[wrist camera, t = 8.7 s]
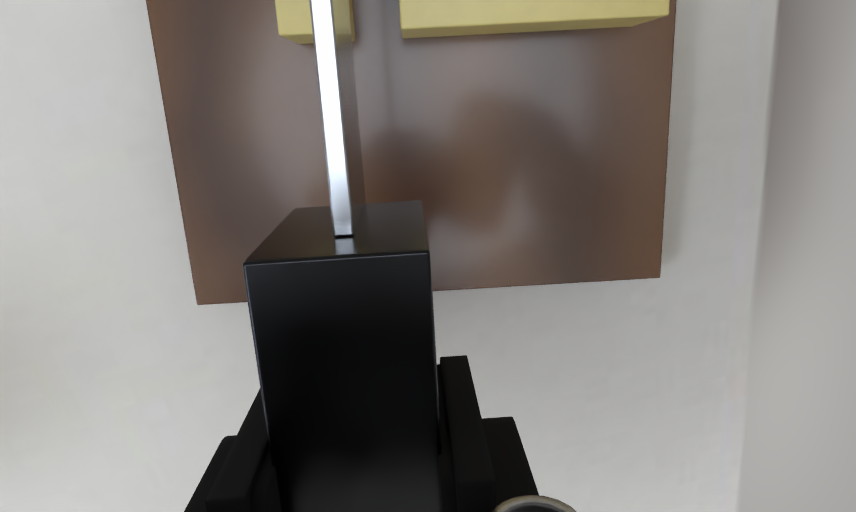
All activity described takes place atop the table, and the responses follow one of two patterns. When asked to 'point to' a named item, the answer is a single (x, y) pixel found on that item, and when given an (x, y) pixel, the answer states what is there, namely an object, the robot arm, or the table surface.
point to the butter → (521, 15)
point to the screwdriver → (347, 325)
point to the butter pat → (300, 20)
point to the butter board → (424, 141)
